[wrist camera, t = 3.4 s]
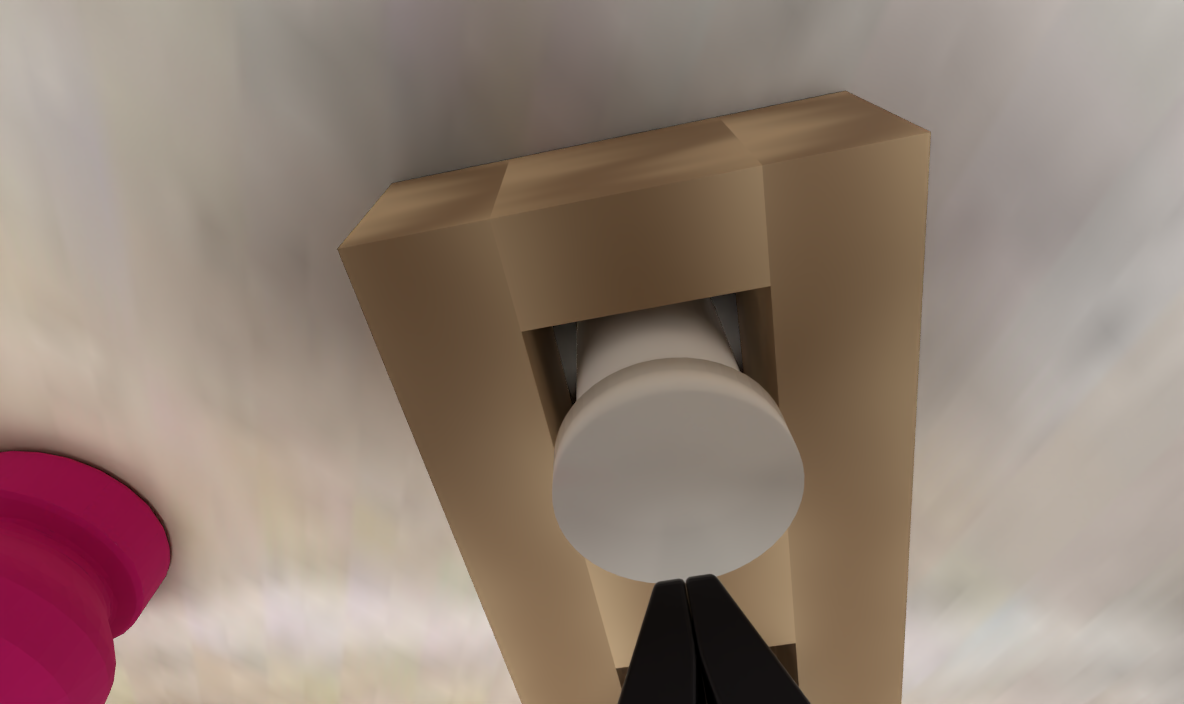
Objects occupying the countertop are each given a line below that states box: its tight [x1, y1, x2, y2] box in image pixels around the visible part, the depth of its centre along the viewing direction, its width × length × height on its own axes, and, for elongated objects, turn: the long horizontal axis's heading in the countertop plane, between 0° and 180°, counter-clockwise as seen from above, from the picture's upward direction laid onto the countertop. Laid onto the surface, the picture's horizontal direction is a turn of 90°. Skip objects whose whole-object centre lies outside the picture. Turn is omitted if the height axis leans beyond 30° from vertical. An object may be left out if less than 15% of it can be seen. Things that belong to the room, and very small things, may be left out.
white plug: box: [552, 297, 804, 583], centre depth 14 cm, size 4×4×6 cm
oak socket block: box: [337, 91, 931, 704], centre depth 18 cm, size 10×19×4 cm, turn 11°
